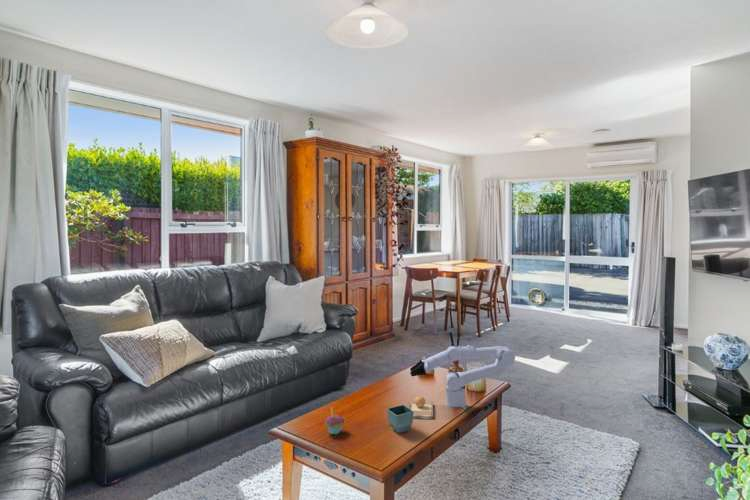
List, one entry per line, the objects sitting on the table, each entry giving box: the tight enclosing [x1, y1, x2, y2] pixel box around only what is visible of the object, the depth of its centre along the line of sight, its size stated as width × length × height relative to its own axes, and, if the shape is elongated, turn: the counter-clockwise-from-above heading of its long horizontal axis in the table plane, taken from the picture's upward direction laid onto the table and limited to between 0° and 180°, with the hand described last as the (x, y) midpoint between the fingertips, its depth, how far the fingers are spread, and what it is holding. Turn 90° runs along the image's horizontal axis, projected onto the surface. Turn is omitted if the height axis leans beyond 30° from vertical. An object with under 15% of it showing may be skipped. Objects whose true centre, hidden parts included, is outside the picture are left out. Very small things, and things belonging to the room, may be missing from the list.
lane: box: [409, 403, 431, 412], centre depth 213 cm, size 12×17×1 cm
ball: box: [414, 395, 426, 407], centre depth 218 cm, size 5×5×5 cm
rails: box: [406, 400, 434, 420], centre depth 213 cm, size 12×17×2 cm
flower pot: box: [386, 404, 414, 434], centre depth 195 cm, size 9×9×9 cm
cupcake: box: [324, 407, 345, 435], centre depth 195 cm, size 9×8×12 cm
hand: (410, 372), depth 220 cm, fingers open, 7 cm apart
